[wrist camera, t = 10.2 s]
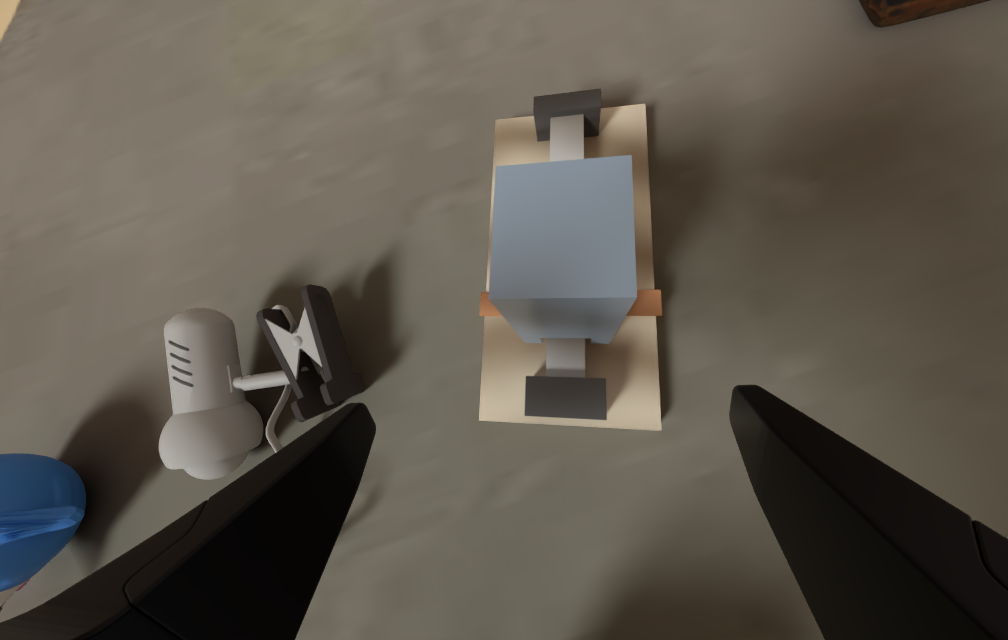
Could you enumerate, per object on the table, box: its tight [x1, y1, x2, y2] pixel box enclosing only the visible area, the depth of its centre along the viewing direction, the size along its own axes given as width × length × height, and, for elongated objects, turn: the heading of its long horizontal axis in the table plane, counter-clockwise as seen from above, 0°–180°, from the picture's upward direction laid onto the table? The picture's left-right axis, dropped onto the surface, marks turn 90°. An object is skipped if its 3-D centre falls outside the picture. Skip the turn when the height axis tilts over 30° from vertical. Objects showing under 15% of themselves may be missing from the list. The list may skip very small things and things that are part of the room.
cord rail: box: [479, 89, 662, 431], centre depth 22 cm, size 20×11×4 cm, turn 178°
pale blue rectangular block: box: [489, 155, 637, 344], centre depth 16 cm, size 5×5×9 cm
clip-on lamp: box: [159, 285, 364, 480], centre depth 22 cm, size 12×6×18 cm
